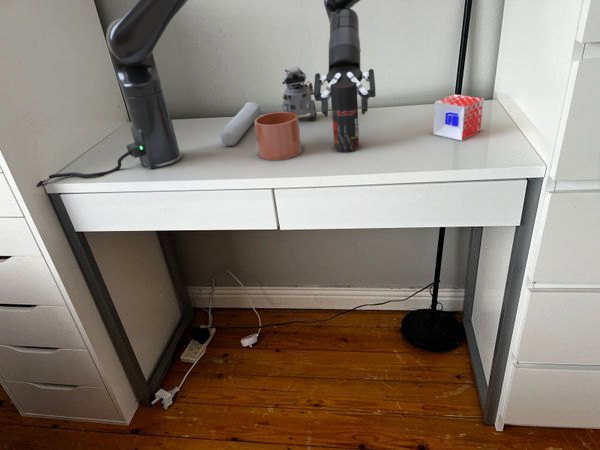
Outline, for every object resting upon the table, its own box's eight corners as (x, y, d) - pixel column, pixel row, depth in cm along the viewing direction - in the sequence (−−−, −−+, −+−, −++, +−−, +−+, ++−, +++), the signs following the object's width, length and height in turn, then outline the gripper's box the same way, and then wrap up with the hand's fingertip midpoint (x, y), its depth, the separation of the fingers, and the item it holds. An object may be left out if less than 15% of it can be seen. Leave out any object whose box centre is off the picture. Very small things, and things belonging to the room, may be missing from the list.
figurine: (279, 128, 126) (272, 74, 119) (289, 116, 136) (283, 65, 128) (311, 127, 124) (305, 72, 116) (318, 115, 134) (314, 62, 126)
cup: (277, 163, 104) (273, 128, 100) (251, 154, 111) (245, 121, 107) (310, 149, 109) (307, 115, 105) (282, 141, 117) (278, 109, 112)
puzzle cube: (480, 130, 108) (483, 98, 104) (461, 140, 104) (464, 106, 100) (451, 125, 114) (453, 94, 110) (432, 134, 110) (434, 102, 106)
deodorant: (358, 152, 105) (355, 87, 97) (332, 152, 106) (328, 88, 99) (360, 143, 110) (357, 80, 102) (336, 143, 111) (332, 82, 104)
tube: (238, 133, 114) (262, 104, 135) (218, 127, 114) (245, 99, 135) (235, 151, 117) (259, 120, 138) (215, 146, 117) (242, 116, 138)
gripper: (312, 45, 104) (311, 108, 100) (374, 39, 102) (375, 103, 98) (316, 64, 112) (316, 123, 108) (374, 59, 109) (376, 119, 105)
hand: (344, 113), depth 103 cm, fingers open, 8 cm apart
